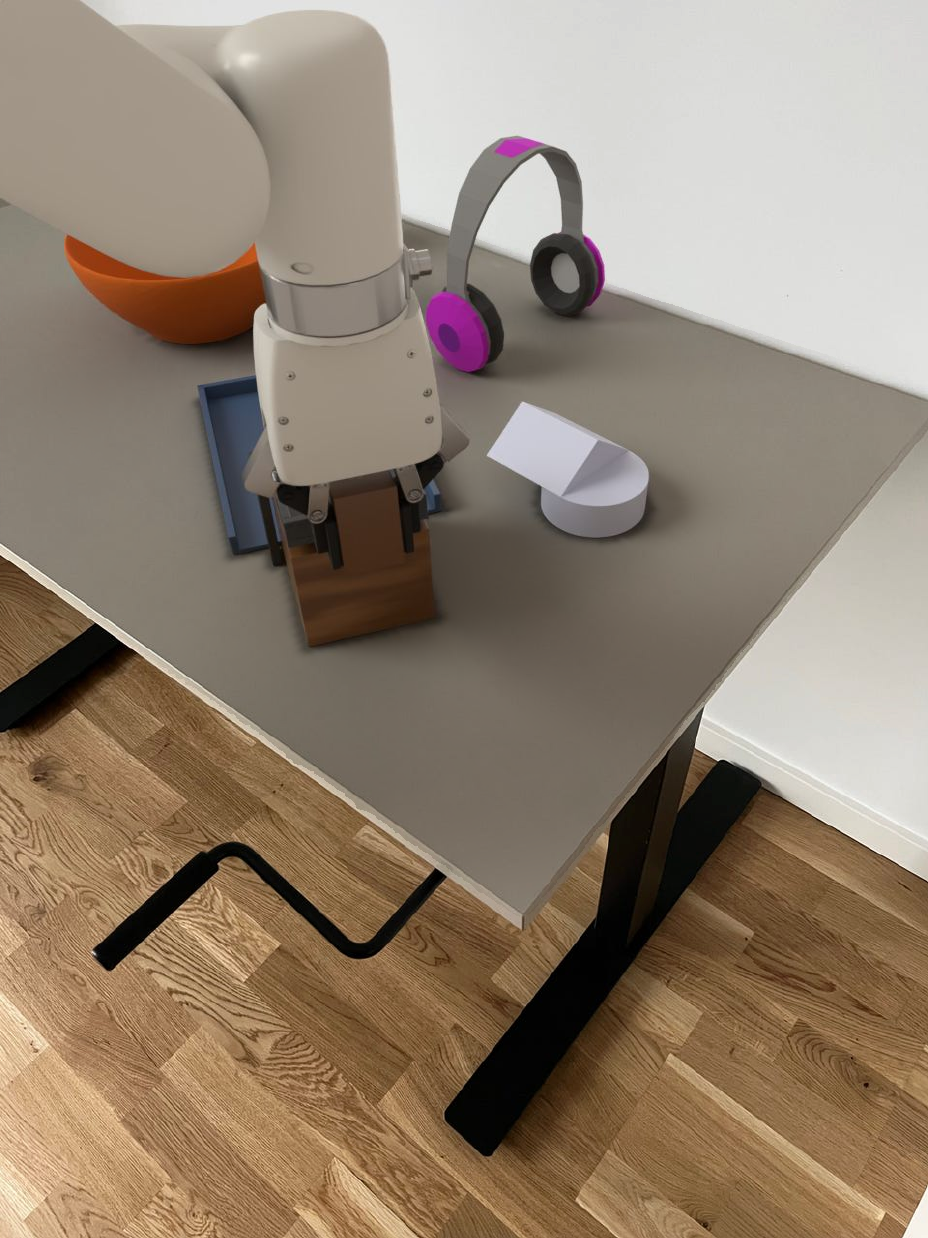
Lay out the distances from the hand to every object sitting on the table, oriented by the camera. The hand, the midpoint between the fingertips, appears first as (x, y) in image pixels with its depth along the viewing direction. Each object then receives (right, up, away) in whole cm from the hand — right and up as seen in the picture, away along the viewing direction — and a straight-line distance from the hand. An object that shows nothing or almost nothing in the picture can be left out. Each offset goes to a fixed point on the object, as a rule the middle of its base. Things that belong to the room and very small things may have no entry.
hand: (368, 545), depth 65 cm
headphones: (+12, +26, +42) cm, 51 cm away
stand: (-2, -2, +15) cm, 15 cm away
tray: (-8, +11, +27) cm, 30 cm away
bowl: (-23, +30, +47) cm, 61 cm away
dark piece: (-2, +3, +6) cm, 7 cm away
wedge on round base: (+16, +6, +22) cm, 28 cm away
